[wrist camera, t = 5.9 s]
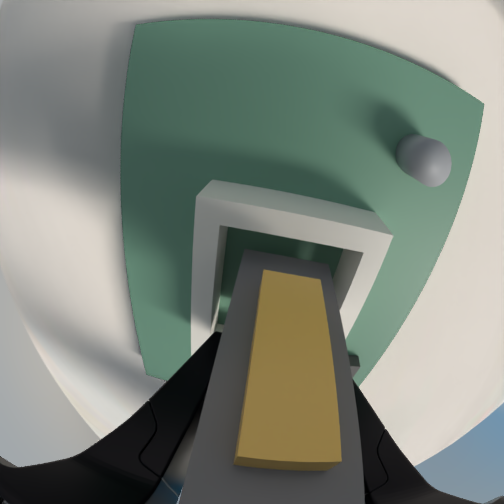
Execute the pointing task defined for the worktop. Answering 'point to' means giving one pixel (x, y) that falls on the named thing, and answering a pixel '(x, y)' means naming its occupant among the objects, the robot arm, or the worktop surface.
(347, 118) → the board
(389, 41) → the worktop surface
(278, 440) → the plug
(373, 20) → the worktop surface
